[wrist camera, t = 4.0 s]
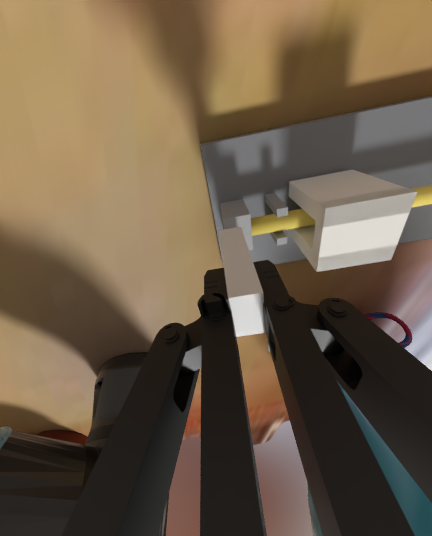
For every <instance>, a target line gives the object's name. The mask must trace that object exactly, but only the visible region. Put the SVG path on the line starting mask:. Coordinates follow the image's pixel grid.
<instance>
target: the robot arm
mask: <svg viewBox="0 0 432 536" xmlns="http://www.w3.org/2000/svg"><path fill="white" fill-rule="evenodd" d="M219 235H220V242H221V249H222V257H223V264H224V268H219V269H213V270H208V271H207V272H206V274H205V276H204V295H203V296H202V297H201V298H200V299H199V301H198V307H199V310H200V313H201V317H200V318H199V319H198V320H196V321H195V322H193V323H191V324H189V325H186V326H183V325H182V324H179V323H170V324H168V325H166V326H164V327H163V328H162V329H160V331H159V332H158V334H157V335H156V337H155V339H154V342H153V344H152V346H151V348H150V350H149V352H148V354H144V353H136V354H127V355H122V356H118V357H115V358H113V359H111V360H109V361H107V362H106V363H105V364H104V365H103V366H102V368H101V370H100V372H99V375H98V377H97V380H96V383H95V391H94V403H93V416H92V426H91V430H90V433H89V435H88V438H87V441H86V444H85V445H81V444H77V443H72V442H67V441H62V440H57V439H52V438H47V437H42V436H37V435H32V434H27V433H22V432H17V431H12V428H10V427H8V426H3V427H0V536H166V524H167V512H168V500H169V490H170V486H171V482H172V478H173V474H174V470H175V466H176V462H177V458H178V454H179V450H180V446H181V442H182V438H183V434H184V430H185V426H186V422H187V418H188V414H189V410H190V406H191V402H192V398H193V394H194V390H195V386H196V382H197V378H198V374H199V370H200V368H201V497H200V498H201V501H200V536H267V534H266V528H265V521H264V515H263V509H262V502H261V495H260V488H259V482H258V475H257V469H256V463H255V456H254V450H253V443H252V436H251V430H250V423H249V416H248V410H247V403H246V397H245V390H244V384H243V377H242V371H241V364H240V357H239V351H238V345H237V339H236V337H239V336H246V335H253V334H259V333H266V332H267V335H268V352H271V355H272V359H273V362H274V366H275V369H276V373H277V376H278V380H279V383H280V387H281V390H282V394H283V398H284V401H285V405H286V408H287V412H288V415H289V419H290V422H291V425H292V429H293V433H294V436H295V440H296V443H297V447H298V451H299V454H300V457H301V461H302V465H303V468H304V472H305V475H306V479H307V482H308V486H309V489H310V493H311V496H312V500H313V504H314V507H315V511H316V514H317V518H318V521H319V525H320V528H321V532H322V535H323V536H415V535H414V533H413V531H412V529H411V527H410V525H409V523H408V521H407V519H406V517H405V515H404V513H403V511H402V509H401V507H400V505H399V503H398V501H397V499H396V497H395V495H394V493H393V491H392V489H391V487H390V485H389V483H388V481H387V479H386V477H385V475H384V473H383V471H382V469H381V467H380V465H379V463H378V461H377V459H376V457H375V455H374V453H373V451H372V450H371V448H370V446H369V444H368V442H367V440H366V438H365V436H364V434H363V432H362V430H361V428H360V426H359V424H358V422H357V420H356V418H355V416H354V414H353V412H352V410H351V408H350V406H349V404H348V402H347V400H346V398H345V396H344V394H343V392H342V390H341V388H340V386H339V384H340V385H341V387H342V388H343V389H344V390H345V392H346V393H347V394H348V396H349V397H350V398H351V400H352V401H353V402H354V403H355V405H356V406H357V407H358V409H359V410H360V411H361V412H362V414H363V415H364V416H365V418H366V419H367V420H368V422H369V423H370V424H371V425H372V427H373V428H374V429H375V431H376V432H377V433H378V434H379V436H380V437H381V438H382V440H383V441H384V442H385V443H386V445H387V446H388V447H389V449H390V450H391V451H392V453H393V454H394V455H395V456H396V458H397V459H398V460H399V462H400V463H401V464H402V465H403V467H404V468H405V469H406V471H407V472H408V473H409V475H410V476H411V477H412V478H413V480H414V481H415V482H416V484H417V485H418V486H419V487H420V489H421V490H422V491H423V493H424V494H425V495H426V496H427V498H428V499H429V500H430V502H431V503H432V371H431V370H430V369H428V368H427V367H426V366H425V365H424V364H422V363H421V362H420V361H419V360H418V359H416V358H415V357H414V356H413V355H412V354H410V353H409V352H408V351H407V350H406V349H404V348H403V347H402V346H401V345H400V344H398V343H397V342H396V341H395V340H394V339H392V338H391V337H390V336H389V335H388V334H386V333H385V332H384V331H383V330H382V329H380V328H379V327H378V326H377V325H376V324H374V323H373V322H372V321H371V320H370V319H368V318H367V317H366V316H365V315H364V314H362V313H361V312H360V311H359V310H358V309H356V308H355V307H354V306H353V305H352V304H350V303H349V302H347V301H345V300H342V299H339V298H328V299H325V300H323V301H321V303H320V304H319V306H318V305H307V304H302V303H299V302H297V301H296V300H295V299H294V298H293V297H291V296H290V295H289V294H288V292H287V290H286V288H285V286H284V284H283V282H282V279H281V277H280V276H279V273H278V271H277V269H276V267H275V265H274V264H273V263H272V262H271V261H269V260H263V261H257V262H253V261H252V258H251V255H250V252H249V249H248V246H247V243H246V240H245V237H244V234H243V232H242V229H241V227H236V228H230V229H225V230H219ZM265 329H266V332H265ZM337 381H338V382H337ZM338 383H339V384H338Z"/></svg>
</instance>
